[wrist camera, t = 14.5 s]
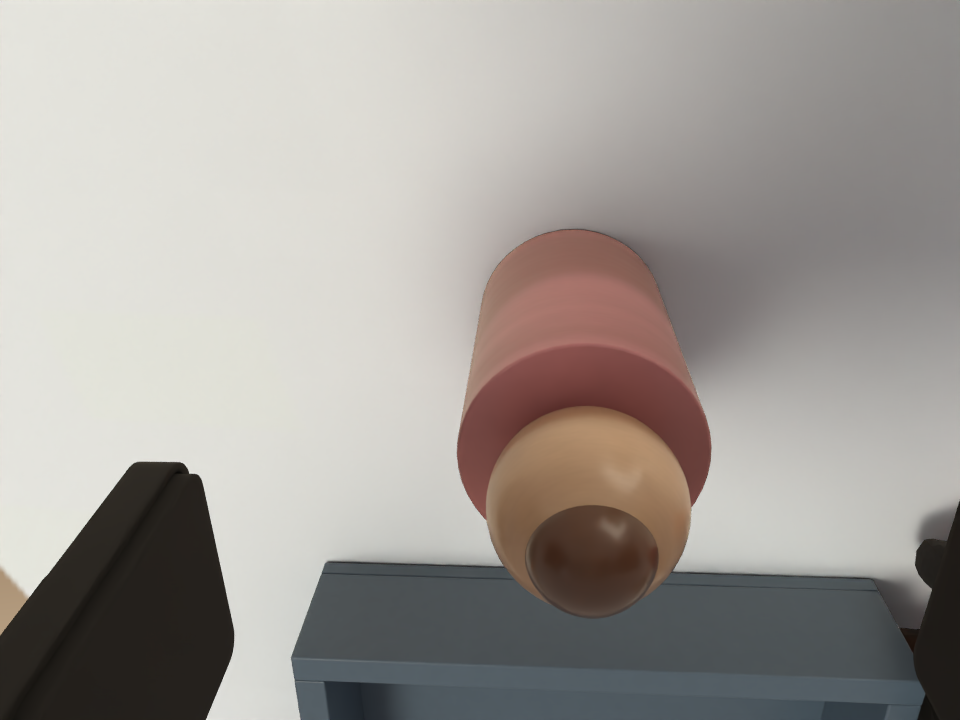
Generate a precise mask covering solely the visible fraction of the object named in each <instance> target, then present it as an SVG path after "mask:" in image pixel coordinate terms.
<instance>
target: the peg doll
mask: <svg viewBox="0 0 960 720" xmlns="http://www.w3.org/2000/svg"><path fill="white" fill-rule="evenodd" d="M457 460H458V468H459V472H460V476H461V480H462V483H463V485H464V488H465V490H466V492H467V494H468V496H469V498H470V499H471V501H472V503H473V504H474V506H475V507H476V509H477V510H478V511H479V512H480V514H481V515H482V516H483V517H484V518H485V519H486V520H487V525H488V529H489V533H490V537H491V541H492V543H493V546H494V548H495V551H496V553H497V555H498V557H499V559H500V560H501V562H502V564H503V565H504V567H505V568H506V569H507V571H508V572H509V573H510V574H511V575H512V577H513V578H514V579H515V580H516V581H517V582H518V583H519V584H520V585H521V586H522V587H523V588H524V589H526V590H527V591H529V592H530V593H531V594H533V595H534V596H535V597H537V598H539V599H540V600H542V601H544V602H546V603H548V604H551V605H553V606H554V607H556V608H557V609H559V610H561V611H563V612H565V613H567V614H570V615H573V616H577V617H581V618H589V619H598V618H606V617H610V616H613V615H616V614H619V613H621V612H623V611H625V610H627V609H629V608H630V607H632V606H633V605H634V604H635V603H637V602H638V601H639V600H641V599H643V598H644V597H646V596H648V595H649V594H650V593H651V592H653V591H654V590H655V589H656V588H657V587H658V586H660V585H661V584H662V583H663V582H664V581H665V580H666V579H667V577H668V576H669V575H670V573H671V572H672V571H673V569H674V568H675V566H676V564H677V563H678V561H679V559H680V557H681V555H682V553H683V551H684V548H685V545H686V542H687V539H688V535H689V530H690V523H691V507H692V506H693V504H694V503H695V502H696V500H697V498H698V496H699V494H700V492H701V491H702V489H703V486H704V484H705V481H706V478H707V475H708V471H709V467H710V462H711V437H710V430H709V427H708V423H707V419H706V416H705V413H704V411H703V408H702V405H701V403H700V400H699V397H698V395H697V392H696V389H695V386H694V384H693V381H692V378H691V376H690V373H689V370H688V368H687V365H686V362H685V359H684V357H683V354H682V351H681V349H680V346H679V343H678V341H677V338H676V335H675V332H674V330H673V327H672V324H671V322H670V319H669V316H668V314H667V311H666V308H665V305H664V303H663V300H662V297H661V295H660V292H659V289H658V287H657V284H656V282H655V279H654V277H653V275H652V273H651V272H650V270H649V269H648V267H647V265H646V264H645V263H644V262H643V261H642V259H641V258H640V257H639V256H638V255H637V254H636V253H635V252H633V251H632V250H631V249H630V248H629V247H627V246H626V245H624V244H623V243H621V242H619V241H617V240H615V239H613V238H611V237H609V236H606V235H603V234H600V233H597V232H592V231H587V230H574V229H573V230H559V231H554V232H549V233H546V234H543V235H539V236H537V237H534V238H532V239H530V240H528V241H526V242H524V243H523V244H521V245H520V246H518V247H516V248H515V249H514V250H513V251H512V252H510V253H509V254H508V255H507V256H506V257H505V258H504V259H503V260H502V261H501V262H500V263H499V265H498V266H497V267H496V269H495V270H494V272H493V273H492V275H491V277H490V279H489V281H488V283H487V285H486V288H485V291H484V294H483V299H482V304H481V310H480V315H479V321H478V327H477V332H476V338H475V344H474V349H473V355H472V361H471V367H470V372H469V378H468V384H467V389H466V395H465V401H464V406H463V412H462V418H461V424H460V429H459V435H458V442H457Z"/></svg>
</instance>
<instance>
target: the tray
mask: <svg viewBox="0 0 960 720" xmlns="http://www.w3.org/2000/svg"><path fill="white" fill-rule="evenodd" d="M291 661H292V667H293V673H294V679H295V687H296V693H297V699H298V706H299V712H300V718H301V720H917V719H918V716H919V712H920V709H921V705H922V703H923V700H924V697H925V692H924V690H923V688H922V686H921V684H920V682H919V680H918V678H917V675H916V672H915V668H914V660H913V652H912V651H911V649H910V647H909V645H908V643H907V641H906V640H905V638H904V636H903V634H902V632H901V630H900V629H899V627H898V625H897V623H896V621H895V619H894V618H893V616H892V614H891V612H890V610H889V608H888V607H887V605H886V603H885V601H884V599H883V597H882V596H881V594H880V592H878V588H877V587H876V585H875V583H874V581H873V580H872V579H848V578H816V577H783V576H750V575H718V574H685V573H670V575H669V576H668V577H667V579H666V580H665V581H664V582H663V583H662V584H661V585H660V586H658V587H657V588H656V589H655V590H654V591H653V592H651V593H650V594H649V595H648V596H646V597H644V598H643V599H641V600H639V601H638V602H637V603H635V604H634V605H633V606H632V607H630V608H629V609H627V610H625V611H623V612H621V613H619V614H616V615H613V616H610V617H606V618H598V619H589V618H581V617H577V616H573V615H570V614H567V613H565V612H563V611H561V610H559V609H557V608H556V607H554V606H553V605H551V604H548V603H546V602H544V601H542V600H540V599H539V598H537V597H535V596H534V595H533V594H531V593H530V592H529V591H527V590H526V589H524V588H523V587H522V586H521V585H520V584H519V583H518V582H517V581H516V580H515V579H514V578H513V577H512V575H511V574H510V573H509V572H508V571H507V569H506V568H489V567H457V566H424V565H392V564H359V563H325V565H324V568H323V571H322V574H321V576H320V579H319V582H318V584H317V587H316V590H315V593H314V596H313V598H312V601H311V604H310V607H309V609H308V612H307V615H306V618H305V620H304V623H303V626H302V629H301V631H300V634H299V637H298V640H297V642H296V645H295V648H294V651H293V654H292V656H291Z"/></svg>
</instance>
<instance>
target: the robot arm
mask: <svg viewBox="0 0 960 720" xmlns="http://www.w3.org/2000/svg"><path fill="white" fill-rule="evenodd" d="M233 647H234V628H233V623H232V618H231V614H230V609H229V604H228V600H227V595H226V590H225V586H224V581H223V576H222V572H221V567H220V562H219V557H218V553H217V548H216V543H215V539H214V534H213V529H212V525H211V520H210V515H209V511H208V506H207V501H206V497H205V492H204V487H203V483H202V480H201V478H200V477H199V475H197V474H189V471H188V469H187V467H186V466H185V465H184V464H183V463H181V462H136V463H134V464H133V465H131V466H130V467H129V469H128V470H127V471H126V473H125V474H124V475H123V476H122V478H121V479H120V480H119V482H118V483H117V484H116V486H115V487H114V488H113V490H112V491H111V492H110V494H109V495H108V496H107V498H106V499H105V500H104V501H103V503H102V504H101V505H100V507H99V508H98V509H97V511H96V512H95V513H94V515H93V516H92V517H91V519H90V520H89V521H88V523H87V524H86V525H85V527H84V528H83V529H82V530H81V532H80V533H79V534H78V536H77V537H76V538H75V540H74V541H73V542H72V544H71V545H70V546H69V548H68V549H67V550H66V552H65V553H64V554H63V556H62V557H61V558H60V559H59V561H58V562H57V563H56V565H55V566H54V567H53V569H52V570H51V571H50V573H49V574H48V575H47V576H46V577H45V578H44V579H43V580H42V582H41V583H40V584H39V585H38V587H37V588H36V589H35V591H34V592H33V593H32V595H31V596H30V597H29V599H28V600H27V601H26V603H25V604H24V605H23V607H22V608H21V609H20V611H19V612H18V613H17V615H16V616H15V617H14V618H13V620H12V621H11V622H10V624H9V625H8V626H7V628H6V629H5V630H4V631H3V633H2V634H1V635H0V720H206V718H207V715H208V713H209V711H210V708H211V706H212V703H213V701H214V699H215V696H216V694H217V691H218V689H219V687H220V684H221V682H222V679H223V677H224V674H225V672H226V670H227V667H228V665H229V662H230V660H231V657H232V653H233ZM913 660H914V668H915V672H916V675H917V678H918V680H919V682H920V684H921V686H922V688H923V690H924V692H925V693H926V695H927V697H928V699H929V701H930V703H931V705H932V707H933V709H934V711H935V712H936V714H937V716H938V718H939V720H960V501H959V505H958V508H957V511H956V514H955V518H954V521H953V524H952V527H951V530H950V534H949V537H948V540H947V543H946V547H945V550H944V553H943V556H942V559H941V563H940V566H939V569H938V572H937V576H936V579H935V582H934V585H933V588H932V592H931V595H930V598H929V601H928V605H927V608H926V611H925V614H924V617H923V621H922V624H921V627H920V630H919V634H918V637H917V640H916V643H915V647H914V652H913Z"/></svg>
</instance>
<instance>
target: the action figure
mask: <svg viewBox="0 0 960 720" xmlns="http://www.w3.org/2000/svg"><path fill="white" fill-rule="evenodd" d="M946 543H947V541H942V540H936V539H925V540H924V541H923V542H922V544H921V545H920V547H919V548H918V549H917V551H916V561H915V566H916V569H917V571H918V574H919V576H920V577H921V578H922V579H923V581H924V582H925V583H926V584H927V585H928V586H929V587H931V588H933V585H934V582H935V579H936V576H937V572H938V569H939V566H940V563H941V559H942V556H943V553H944V550H945V547H946ZM899 629H900V630H901V632H902V634H903V636H904V638H905V640H906V641H907V643H908V645H909V647H910V649H911V651H912V652H914V647H915V643H916V640H917V637H918V634H919V630H920V629H908V628H899ZM917 720H939V718H938V716H937V714H936V712H935V711H934V709H933V707H932V705H931V703H930V701H929V699H928V697H927V695H926V693H925V697H924V700H923V703H922V705H921V709H920V712H919V716H918V719H917Z"/></svg>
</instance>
